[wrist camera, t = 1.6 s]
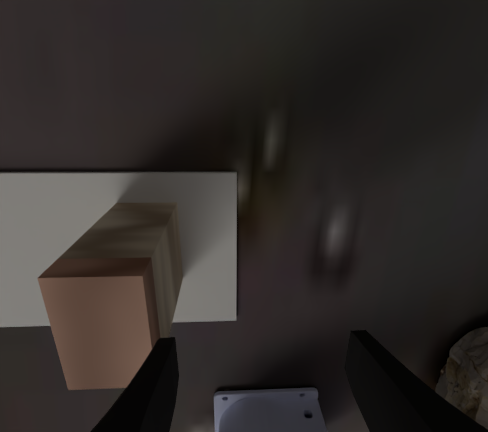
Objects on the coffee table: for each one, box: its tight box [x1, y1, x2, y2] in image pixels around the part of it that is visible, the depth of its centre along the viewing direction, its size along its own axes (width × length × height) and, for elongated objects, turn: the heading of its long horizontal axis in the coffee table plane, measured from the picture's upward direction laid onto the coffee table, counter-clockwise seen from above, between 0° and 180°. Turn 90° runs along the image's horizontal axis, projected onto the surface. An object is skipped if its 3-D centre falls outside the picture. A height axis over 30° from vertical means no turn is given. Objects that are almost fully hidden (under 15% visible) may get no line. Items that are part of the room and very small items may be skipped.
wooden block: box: [37, 202, 183, 390], centre depth 17 cm, size 4×6×9 cm, turn 179°
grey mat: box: [0, 172, 237, 327], centre depth 22 cm, size 20×12×1 cm, turn 89°
